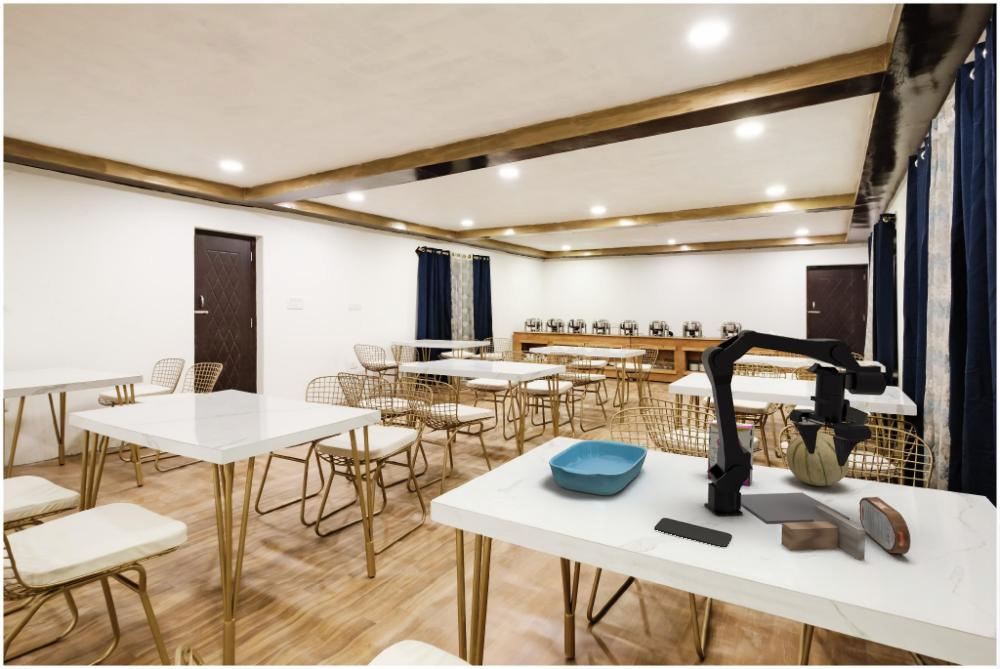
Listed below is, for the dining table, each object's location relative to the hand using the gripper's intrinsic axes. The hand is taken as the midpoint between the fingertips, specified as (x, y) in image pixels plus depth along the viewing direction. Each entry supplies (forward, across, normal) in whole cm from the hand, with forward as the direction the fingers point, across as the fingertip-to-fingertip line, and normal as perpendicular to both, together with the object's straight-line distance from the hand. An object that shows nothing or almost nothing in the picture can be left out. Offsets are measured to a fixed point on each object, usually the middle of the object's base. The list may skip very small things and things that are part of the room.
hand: (825, 459), depth 119 cm
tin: (+14, -14, -2) cm, 19 cm away
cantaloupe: (+14, +20, -14) cm, 28 cm away
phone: (+15, -5, +35) cm, 38 cm away
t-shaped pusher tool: (+14, -13, +14) cm, 24 cm away
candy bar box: (+14, +25, +8) cm, 30 cm away
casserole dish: (+15, +32, +44) cm, 56 cm away
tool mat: (+14, +5, +5) cm, 16 cm away
